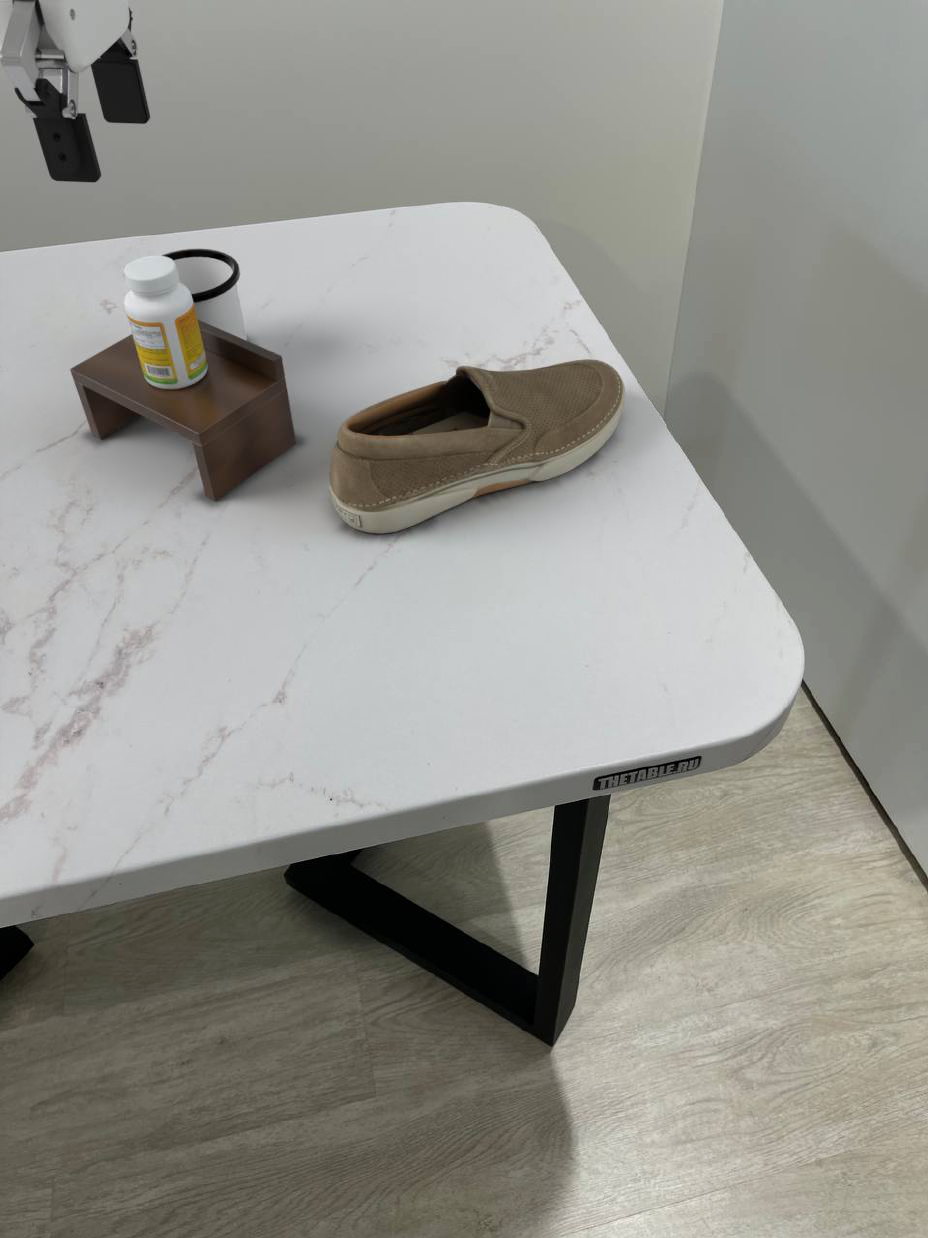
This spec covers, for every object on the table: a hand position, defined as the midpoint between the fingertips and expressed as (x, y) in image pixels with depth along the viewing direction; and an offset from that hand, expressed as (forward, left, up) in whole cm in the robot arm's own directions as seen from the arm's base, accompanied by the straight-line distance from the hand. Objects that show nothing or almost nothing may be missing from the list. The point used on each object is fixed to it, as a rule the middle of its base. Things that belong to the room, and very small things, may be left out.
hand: (103, 149), depth 68 cm
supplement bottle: (+4, +4, -21) cm, 22 cm away
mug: (+15, +14, -28) cm, 35 cm away
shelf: (+4, +4, -28) cm, 28 cm away
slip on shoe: (+17, -19, -28) cm, 38 cm away
